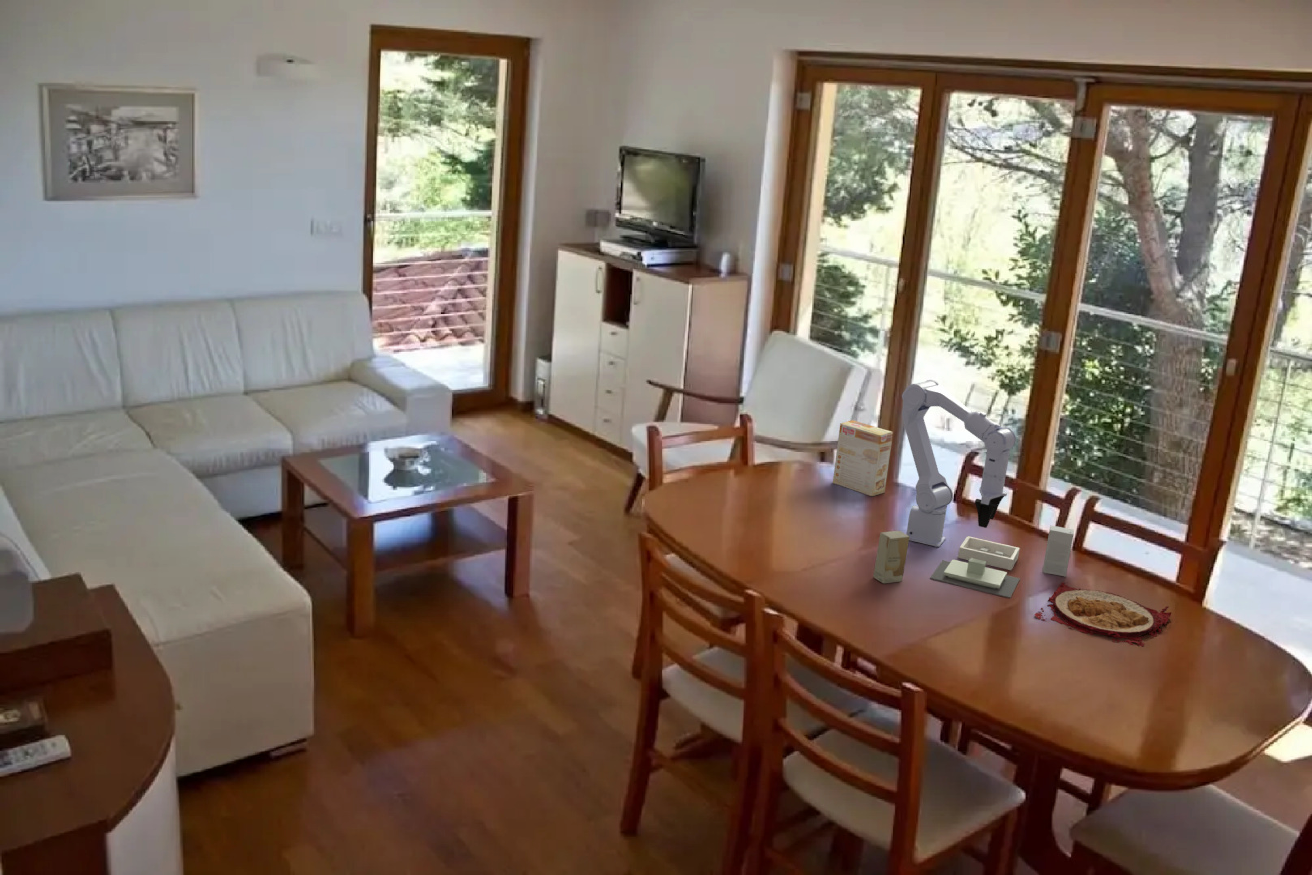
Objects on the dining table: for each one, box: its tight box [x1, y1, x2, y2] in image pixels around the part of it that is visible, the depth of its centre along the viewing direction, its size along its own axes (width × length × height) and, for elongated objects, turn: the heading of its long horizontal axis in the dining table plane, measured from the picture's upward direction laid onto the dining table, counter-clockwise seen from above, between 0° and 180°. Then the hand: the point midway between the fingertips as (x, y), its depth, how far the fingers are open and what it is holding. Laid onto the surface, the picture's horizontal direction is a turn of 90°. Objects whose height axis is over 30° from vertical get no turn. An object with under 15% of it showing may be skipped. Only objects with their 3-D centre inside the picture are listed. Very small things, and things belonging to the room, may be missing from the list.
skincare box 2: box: [1042, 525, 1075, 577], centre depth 316 cm, size 6×4×12 cm
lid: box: [943, 558, 1008, 589], centre depth 308 cm, size 14×10×5 cm
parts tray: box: [957, 535, 1021, 571], centre depth 323 cm, size 14×10×3 cm
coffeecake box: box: [832, 419, 894, 497], centre depth 368 cm, size 15×7×20 cm, turn 46°
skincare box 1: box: [872, 530, 910, 584], centre depth 302 cm, size 6×4×12 cm
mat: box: [929, 559, 1021, 599], centre depth 308 cm, size 20×14×1 cm
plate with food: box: [1034, 582, 1172, 648], centre depth 291 cm, size 25×26×4 cm
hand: (985, 522), depth 319 cm, fingers open, 7 cm apart
